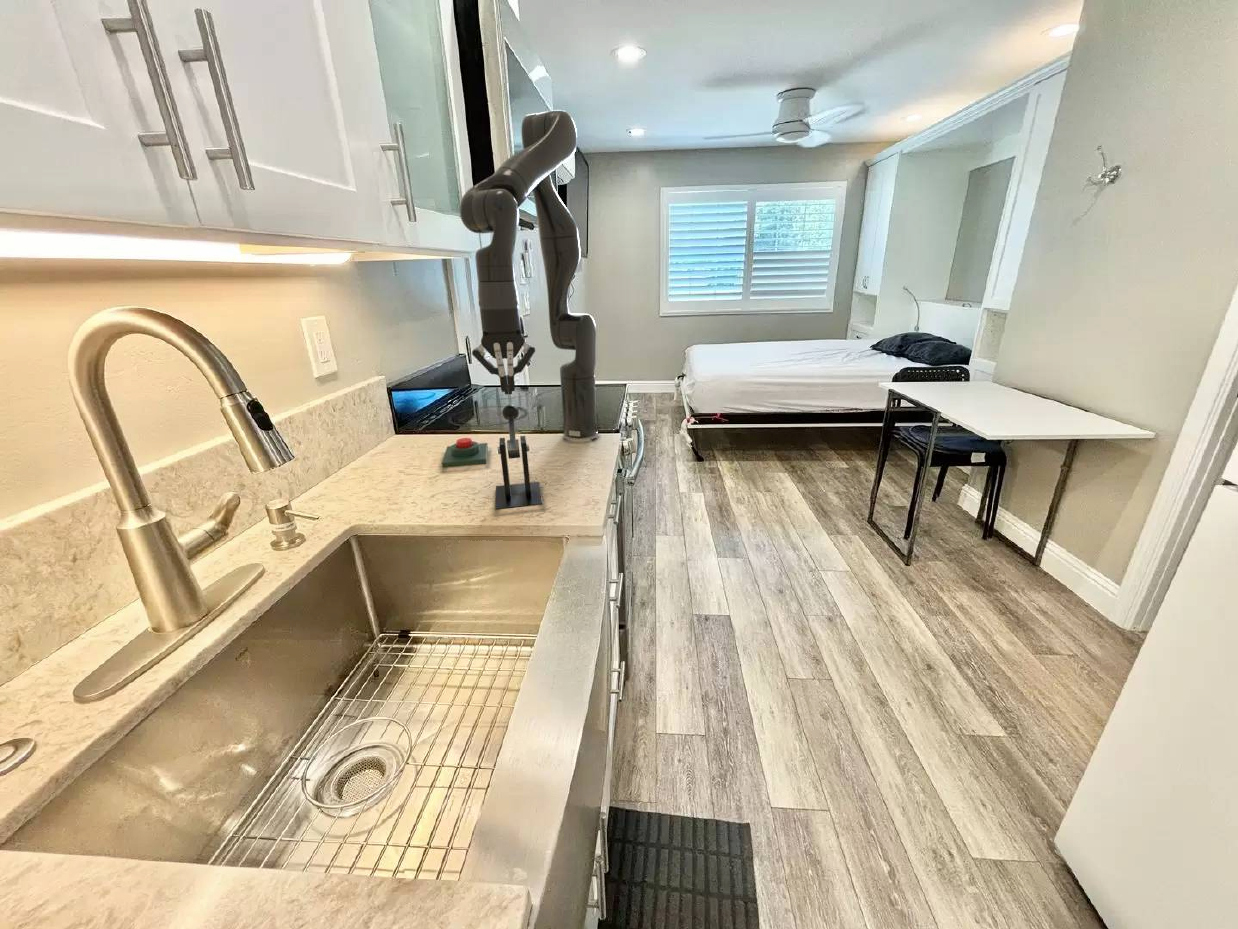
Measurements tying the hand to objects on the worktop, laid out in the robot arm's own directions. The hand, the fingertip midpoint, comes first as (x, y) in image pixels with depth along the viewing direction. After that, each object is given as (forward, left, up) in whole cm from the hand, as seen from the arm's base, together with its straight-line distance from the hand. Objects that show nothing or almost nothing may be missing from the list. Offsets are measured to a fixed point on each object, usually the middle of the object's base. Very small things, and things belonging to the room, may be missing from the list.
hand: (508, 393), depth 102 cm
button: (-16, -12, -16) cm, 26 cm away
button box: (-16, -12, -20) cm, 28 cm away
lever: (+4, 0, -8) cm, 9 cm away
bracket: (+10, 0, -20) cm, 22 cm away
